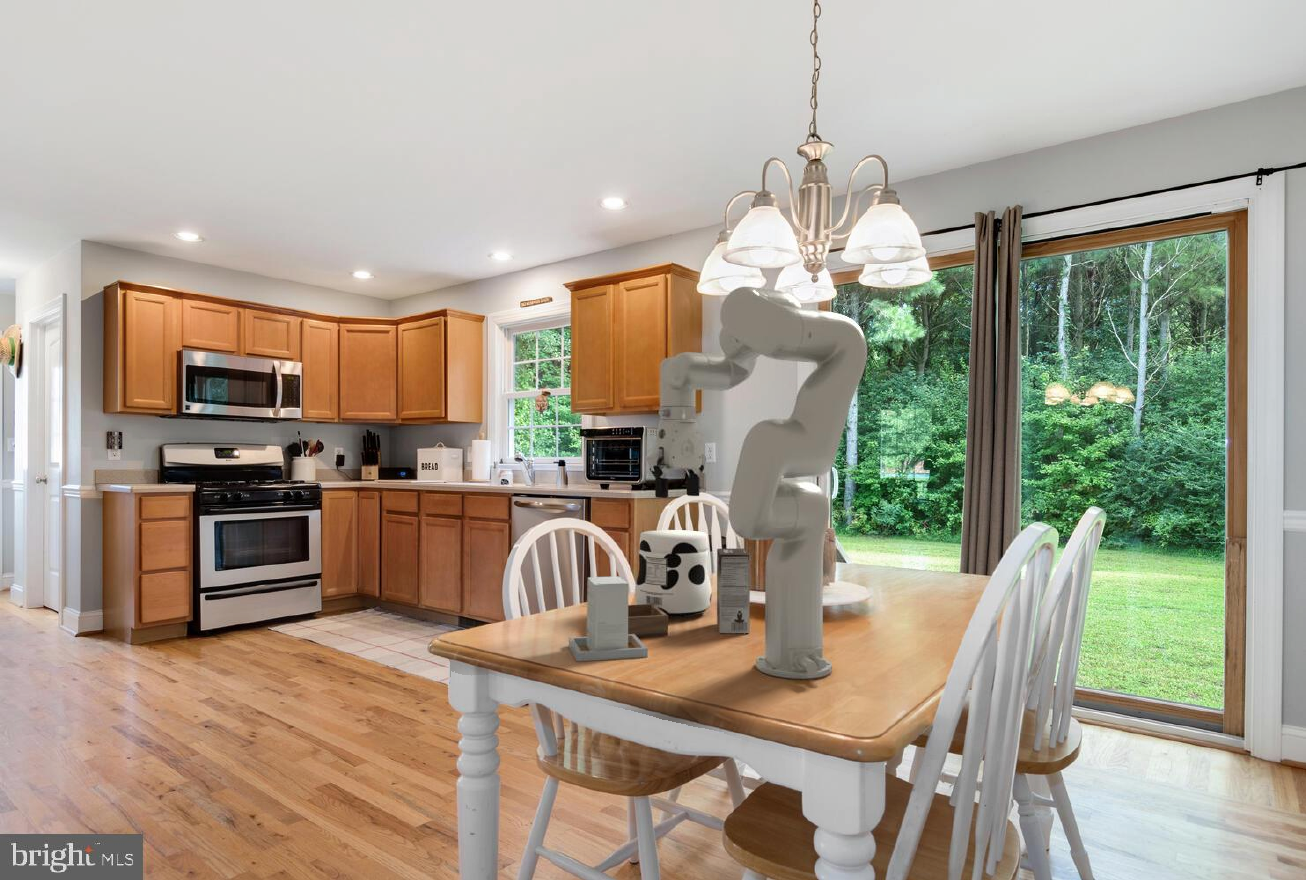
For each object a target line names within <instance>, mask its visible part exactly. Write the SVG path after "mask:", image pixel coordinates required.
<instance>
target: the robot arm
mask: <svg viewBox="0 0 1306 880" xmlns="http://www.w3.org/2000/svg"><path fill="white" fill-rule="evenodd" d="M719 312H720V313H719V315H720V316H719V317H720V323H721V325H722V327H721V330H720V332H719V336H718V340H719V345H720V348H721V350H722V353H724V354H718V353H707V352H694V351H693V352H692V351H685V352H681V353H678V354H677V355H675V356H674V357H667V358H666V357H665V358H663V359H662V361H661V363H660V368H659V369H660V370H659V373H660V374H659V375H660V376H659V377H660V378H659V381H660V382H659V383H660V384H659V387H660V389H659V390H660V391H659V398H660V399H659V403H660V404H659V411H658V415H659V419H660V420H659V422H658V426H657V431H656V432H657V433H656V440H655V451H654V452H652V453H651V454H650V455H648V456H647V457H646V461H647V464H648V466H649V471H650V473H651V474H652V478H653V479H654V480H655V482H654V484H655V485H654V490H655V491H654V492H655V493H654V495H655V498H657V499H658V498H659V499H661V498H662V499H667V498H668V497H669V478H667V476H668V475H669V473H670V471H671V470H685V472H686V473H687V475H688V476H687V477H686V495H687V496H689V497H699V496H700V478H702V476H703V475H702V473H703V471H704V470H705V465H706V462H707V456H705V455H704V454H703V453H702V445H701V444H702V443H701V434H700V428H699V423H698V422H696V405H697V404H696V393H697V392H696V391H697V390H698V391H700V390H703V391H714V392H715V391H717V392H721V391H722V392H723V391H728V390H731V389H733V388H735V387H737V386H739V385H740V384H742V383H744V382H746V381H747V380H749V378H750V377H751V376H752V374H753V373H754V369H755V367H756V364H757V358H758V357H759V356H764V357H766V358H769V359H773V360H778V361H779V360H780V361H788V362H789V361H791V362H802V363H815V364H816V368H814V370H813V371H812V372H811V373H810V374H809V375H808V376H807V378H805V380H804V382H802V384H801V386H800V388H799V390H798V391H797V392H798V393H797V395H796V399H795V404H794V407H793V411H792V414H790V415H791V416H790V417H788V418H787V419H785V418H771V419H764V420H761V421H758V422H757V423H756V424H755V425H753V426H752V428H750V430H749V431H748V432H747V433H746V435H745V438H744V440H743V442H742V447H741V449H740V454H739V458H738V462H737V466H736V471H735V475H734V479H733V481H732V482H733V484H732V486H731V492H730V496H729V501H728V510H727V511H728V521H729V524H730V527H731V529H732V530H733V532H734V533H735V534H736V535H737V536H738V537H740V538H743V539H744V540H745V539H746V540H751V541H754V540H755V541H756V540H757V541H760V540H761V541H763V540H773V541H772V543H771V545H770V548H769V550H768V553H767V555H766V556H767V557H766V562H765V576H764V577H765V579H764V582H765V585H764V587H765V590H764V594H765V597H764V600H765V601H764V605H765V607H764V610H765V611H764V615H765V620H764V622H765V623H764V624H765V626H764V629H765V630H764V631H765V632H764V637H765V638H764V641H765V642H764V644H765V646H764V649H765V650H764V654H760V655H759V656H758V657H756V659H755V667H756V668H757V670H758V671H760V672H762V673H764V674H767V675H769V676H772V677H773V676H774V677H778V678H785V679H791V680H792V679H793V680H797V679H798V680H804V679H806V680H807V679H817V678H822V677H826V676H828V675H830V674H831V673H832V671H833V663H832V662H831V661H830V660H829V659H828V658H825V657H824V656H823V654H824V653H823V650H824V649H823V647H824V646H823V644H824V643H823V637H824V636H823V633H824V632H823V631H824V630H823V629H824V628H823V627H824V625H823V624H824V623H823V616H824V615H823V613H824V612H823V610H824V609H823V608H824V607H823V605H824V604H823V601H824V600H823V599H824V597H823V594H824V593H823V591H824V590H823V589H824V588H823V586H824V585H823V583H824V582H823V580H824V578H823V577H824V547H825V538H826V535H827V534H826V532H827V528H828V525H829V523H828V522H829V517H830V504H829V500H828V497H827V495H826V493H825V492H824V491H823V489H821V487H820V486H818V485H816V484H814V482H813V483H812V482H809V481H805V480H794V479H807V478H808V479H811V478H817V477H822V476H824V475H826V474H827V473H829V472H830V470H831V469H832V467H833V465H834V464H835V460H836V457H837V454H838V451H839V446H840V445H841V440H842V436H843V432H844V429H845V426H846V423H847V419H848V414H849V410H850V408H851V407H850V406H851V404H852V401H853V398H854V395H855V393H856V391H857V388H858V386H859V384H860V381H861V379H862V377H863V374H864V371H865V367H866V365H867V360H868V359H867V357H868V345H867V340H866V336H865V334H864V332H863V330H862V328H861V327H860V326H859V324H858V323H856V321H854V320H853V319H852V318H850V317H848V316H845V315H844V314H841V313H837V312H832V311H828V310H822V309H812V308H811V309H809V308H804V307H803V308H802V306H801V304H800V302H799V301H798V299H796V297H794V296H793V295H791V294H790V293H787V292H785V291H781V290H775V289H774V290H773V289H767V288H761V287H755V286H741V287H737V288H735V289H733V290H732V291H730V293H728V294H727V296H726V297H725V298H724V301H723V302H722V304H721V307H720V311H719ZM782 479H793V480H782Z"/></svg>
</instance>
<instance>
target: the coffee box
mask: <svg viewBox="0 0 1306 880" xmlns="http://www.w3.org/2000/svg"><path fill="white" fill-rule="evenodd" d="M750 593H751V555H750V553H749V551H748V549H747V548H717V549H716V622H717V623H716V624H717V628H718V633H719V634H720V633H744V634H743V635H746V634H745V633H751V632H750V620H751V618H750V617H751V616H750V615H751V614H750V608H751V607H750V606H751V603H750V601H751V599H750V597H751V594H750Z"/></svg>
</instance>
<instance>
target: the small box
mask: <svg viewBox="0 0 1306 880" xmlns="http://www.w3.org/2000/svg"><path fill="white" fill-rule="evenodd" d="M586 584H587V589H586V590H587V591H586V592H587V595H586V597H587V598H586V599H587V600H586V601H587V602H586V605H587V606H586V637H587V646H586V647H587V649H588V651H594V650H610V649H626V648H629V643H628V605H629V583H628V582H627V581H625V580H624V579H623V578H622V577H620V576H616V575H615V576H592V577H589V576H588V577H587V583H586Z"/></svg>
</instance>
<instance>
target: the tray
mask: <svg viewBox="0 0 1306 880" xmlns="http://www.w3.org/2000/svg"><path fill="white" fill-rule="evenodd" d="M628 644H631V645H632V646H633V647H628V648H626V649H610V650H594V651H590V650H582V651H581V649H580V647H587V636H577V637H568V648H569V649H570V651H571V653H572V654H573V657H574V658H575V660H576V662H588V661H589V662H590V661H592V662H593V661H602V660H603V661H605V660H606V661H607V660H619V659H620V660H621V659H634V658H636V659H637V658H648V656H649V655H648V653H649V650H648V647H647V646H646V645H645V644H644V643H643V642H642V641H641V640H640V639H639V638H638V637H637V636H636V635H635V634H628Z"/></svg>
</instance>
